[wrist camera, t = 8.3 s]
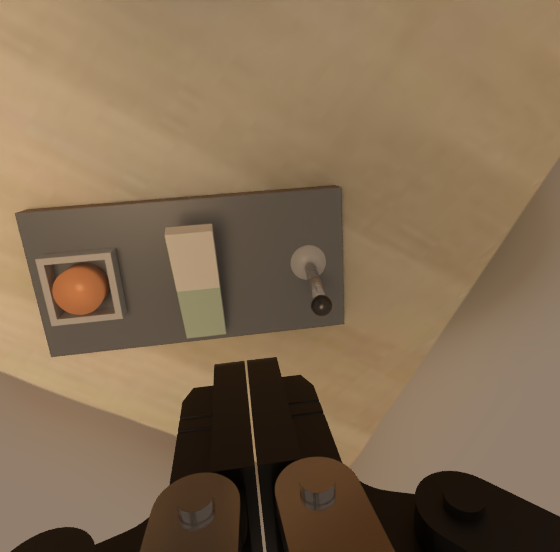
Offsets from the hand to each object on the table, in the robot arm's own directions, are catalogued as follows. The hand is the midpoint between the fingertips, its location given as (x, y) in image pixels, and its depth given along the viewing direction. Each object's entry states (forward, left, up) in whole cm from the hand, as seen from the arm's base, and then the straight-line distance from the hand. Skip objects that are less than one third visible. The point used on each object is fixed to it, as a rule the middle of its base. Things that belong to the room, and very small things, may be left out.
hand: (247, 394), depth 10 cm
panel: (+4, -3, -27) cm, 27 cm away
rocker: (+4, -3, -23) cm, 23 cm away
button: (+4, -12, -25) cm, 28 cm away
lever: (+4, +6, -24) cm, 25 cm away
